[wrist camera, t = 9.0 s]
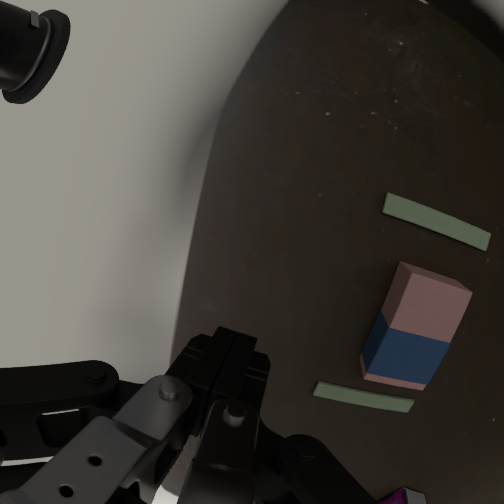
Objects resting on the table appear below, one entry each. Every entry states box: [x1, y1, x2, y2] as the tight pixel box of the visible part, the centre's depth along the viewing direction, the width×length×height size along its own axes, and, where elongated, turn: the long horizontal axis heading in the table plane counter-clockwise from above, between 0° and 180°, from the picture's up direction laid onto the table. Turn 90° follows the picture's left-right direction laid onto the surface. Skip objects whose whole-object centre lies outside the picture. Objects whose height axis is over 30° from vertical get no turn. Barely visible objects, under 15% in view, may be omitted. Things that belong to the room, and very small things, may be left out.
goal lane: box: [313, 193, 491, 412], centre depth 17 cm, size 8×14×1 cm, turn 166°
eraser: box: [359, 261, 472, 390], centre depth 16 cm, size 5×7×3 cm, turn 166°
